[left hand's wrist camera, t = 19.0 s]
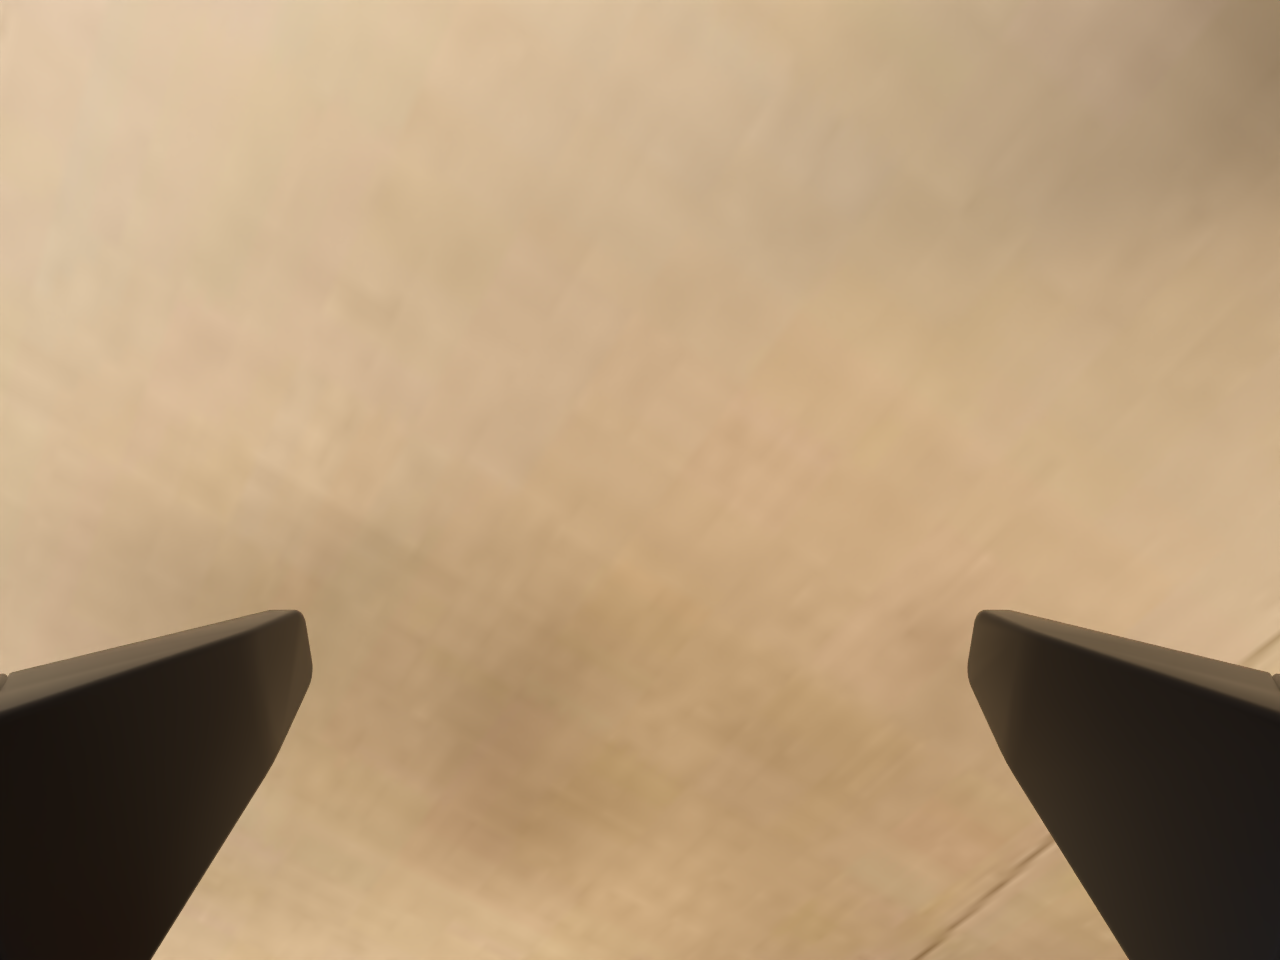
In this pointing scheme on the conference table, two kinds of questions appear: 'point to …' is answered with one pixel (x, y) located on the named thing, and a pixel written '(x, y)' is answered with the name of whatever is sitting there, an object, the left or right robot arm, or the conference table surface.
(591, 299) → the conference table surface
